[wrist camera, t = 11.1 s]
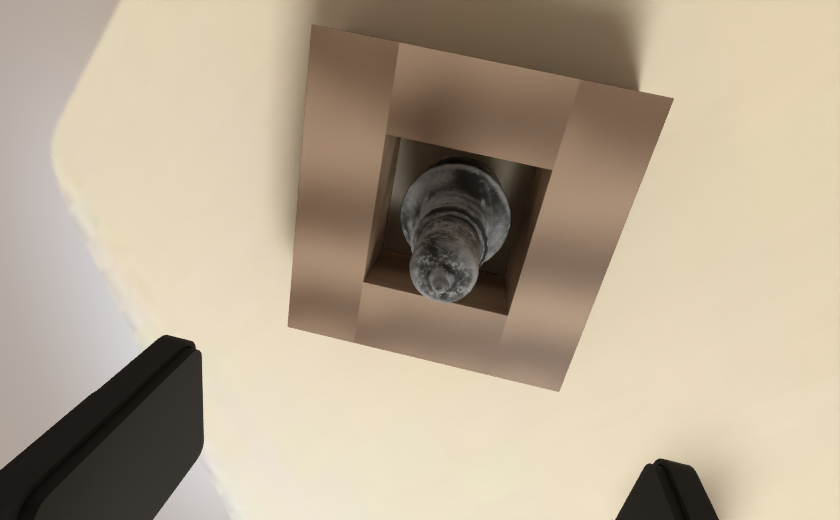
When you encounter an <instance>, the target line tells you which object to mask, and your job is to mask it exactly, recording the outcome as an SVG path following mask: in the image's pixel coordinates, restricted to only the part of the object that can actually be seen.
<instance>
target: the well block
mask: <svg viewBox="0 0 840 520" xmlns="http://www.w3.org/2000/svg"><path fill="white" fill-rule="evenodd" d="M673 100H674V98H669V97H664V96H659V95H655V94H650V93H645V92H640V91H635V90H630V89H625V88H620V87H615V86H611V85H606V84H601V83H596V82H591V81H586V80H581V79H576V78H571V77H567V76H562V75H557V74H552V73H547V72H542V71H537V70H532V69H527V68H523V67H518V66H513V65H508V64H503V63H498V62H493V61H488V60H483V59H479V58H474V57H469V56H464V55H459V54H454V53H449V52H444V51H439V50H435V49H430V48H425V47H420V46H415V45H410V44H405V43H400V42H395V41H391V40H386V39H381V38H376V37H371V36H366V35H361V34H356V33H351V32H347V31H342V30H337V29H332V28H327V27H322V26H317V25H312V29H311V41H310V54H309V66H308V79H307V91H306V104H305V116H304V129H303V141H302V154H301V166H300V179H299V191H298V204H297V216H296V229H295V241H294V254H293V266H292V279H291V291H290V304H289V316H288V327H291V328H295V329H299V330H303V331H307V332H312V333H316V334H320V335H324V336H328V337H332V338H337V339H341V340H345V341H349V342H353V343H357V344H362V345H366V346H370V347H374V348H378V349H382V350H387V351H391V352H395V353H399V354H403V355H407V356H412V357H416V358H420V359H424V360H428V361H432V362H437V363H441V364H445V365H449V366H453V367H457V368H462V369H466V370H470V371H474V372H478V373H482V374H487V375H491V376H495V377H499V378H503V379H507V380H512V381H516V382H520V383H524V384H528V385H532V386H537V387H541V388H545V389H549V390H553V391H557V392H559V391H560V388H561V386H562V383H563V380H564V378H565V375H566V373H567V370H568V368H569V365H570V363H571V360H572V358H573V355H574V352H575V350H576V347H577V345H578V342H579V340H580V337H581V335H582V332H583V329H584V327H585V324H586V322H587V319H588V317H589V314H590V312H591V309H592V307H593V304H594V301H595V299H596V296H597V294H598V291H599V289H600V286H601V284H602V281H603V278H604V276H605V273H606V271H607V268H608V266H609V263H610V261H611V258H612V256H613V253H614V250H615V248H616V245H617V243H618V240H619V238H620V235H621V233H622V230H623V227H624V225H625V222H626V220H627V217H628V215H629V212H630V210H631V207H632V205H633V202H634V199H635V197H636V194H637V192H638V189H639V187H640V184H641V182H642V179H643V177H644V174H645V171H646V169H647V166H648V164H649V161H650V159H651V156H652V154H653V151H654V148H655V146H656V143H657V141H658V138H659V136H660V133H661V131H662V128H663V126H664V123H665V120H666V118H667V115H668V113H669V110H670V108H671V105H672V103H673ZM401 138H406V139H410V140H415V141H420V142H424V143H429V144H434V145H438V146H443V147H448V148H452V149H457V150H461V151H466V152H471V153H475V154H480V155H485V156H489V157H494V158H499V159H503V160H508V161H513V162H517V163H522V164H526V165H531V166H536V167H537V169H536V173H535V176H534V179H533V183H532V186H531V190H530V193H529V196H528V200H527V203H526V207H525V210H524V214H523V217H522V220H521V224H520V227H519V231H518V234H517V237H516V241H515V244H514V248H513V251H512V254H511V258H510V261H509V265H508V268H507V272H506V275H505V277H504V276H500V275H496V274H491V273H487V272H483V271H479V273H478V277H477V281H476V283H475V285H474V286H473V288H472V290H471V291H470V292H469V293H468V294H467V295H466V296H465V297H463V298H461V299H459V300H457V301H454V302H450V303H440V302H436V301H432V300H430V299H428V298H426V297H425V296H423V295H422V294H421V293H420V292H419V291H418V290H417V289H416V287H415V286H414V284H413V282H412V279H411V276H410V260H411V256H412V255H408V254H404V253H399V252H395V251H391V250H386V249H383V243H384V237H385V231H386V225H387V219H388V213H389V207H390V201H391V194H392V188H393V182H394V176H395V170H396V164H397V158H398V152H399V146H400V140H401Z"/></svg>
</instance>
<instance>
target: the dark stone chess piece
mask: <svg viewBox="0 0 840 520" xmlns="http://www.w3.org/2000/svg"><path fill="white" fill-rule="evenodd" d="M510 214H511V211H510V207H509V203H508V200H507V197H506V195H505V193H504V191H503V190H502V188H501V186H500V183H499V181H498V180H497V178H496V176H495V175H494V173H493V172H492V171H491V170H490V169H489V168H488V167H487V166H485V165H484V164H482V163H480V162H478V161H476V160H474V159H470V158H465V157H451V158H448V159H445V160H441V161H439V162H438V163H436V164H434V165H433V166H431V167H430V168H429V169H428V170H427V171H426V172H425V173H423V174H422V175H420V176H419V177H418V178H417V179H416V180H415V181H414V182H413V183H412V184H411V185H410V187H409V188H408V190H407V192H406V194H405V196H404V198H403V201H402V206H401V211H400V217H401V227H402V230H403V233H404V236H405V239H406V241H407V242H408V243H409V245H410V246H411V251H412V256H411V260H410V276H411V279H412V282H413V284H414V286H415V287H416V289H417V290H418V291H419V292H420V293H421V294H422V295H423V296H425V297H426V298H428V299H430V300H432V301H436V302H440V303H450V302H454V301H457V300H459V299H461V298H463V297H465V296H466V295H467V294H468V293H469V292H470V291H471V290H472V288H473V286H474V285H475V283H476V281H477V277H478V273H479V268H480V267H481V266H482V264H483V262H485V261H487V260H489V259H490V258H491V257H492V256H493V255H494V254H495V253H496V252H498V251H499V249H500V248H501V246H502V245H503V243H504V241H505V240H506V238H507V234H508V231H509V228H510Z"/></svg>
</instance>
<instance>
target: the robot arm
mask: <svg viewBox="0 0 840 520" xmlns="http://www.w3.org/2000/svg"><path fill="white" fill-rule="evenodd" d="M203 444H204V429H203V388H202V355H201V352H200V351H199V350H196V347H195V344H194V342H192V341H189V340H185V339H181V338H177V337H173V336H169V335H164V336H162V337H160V338H159V339H157V340H156V341H155V342H154V343H153V344H151V345H150V346H149V347H148V348H147V349H146V350H144V351H143V352H142V353H141V354H140V355H138V356H137V357H136V358H135V359H134V360H133V361H131V362H130V363H129V364H128V365H127V366H125V367H124V368H123V369H122V370H121V371H120V372H118V373H117V374H116V375H115V376H114V377H112V378H111V379H110V380H109V381H108V382H107V383H105V384H104V385H103V386H102V387H101V388H100V389H98V390H97V391H95V392H94V393H92V394H91V395H89V396H88V397H87V398H86V399H85V400H83V401H82V402H81V403H80V404H79V405H78V406H76V407H75V408H74V409H73V410H72V411H70V412H69V413H68V414H67V415H65V416H64V417H63V418H62V419H61V420H60V421H58V422H57V423H56V424H55V425H54V426H52V427H51V428H50V429H49V430H48V431H46V432H45V433H44V434H43V435H42V436H41V437H39V438H38V439H37V440H36V441H35V442H33V443H32V444H31V445H30V446H29V447H27V448H26V449H25V450H24V451H23V452H21V453H20V454H19V455H18V456H17V457H16V458H14V459H13V460H12V461H11V462H10V463H8V464H7V465H6V466H5V467H4V468H3V469H1V470H0V520H153V519H154V517H155V516H156V515H157V513H158V512H159V511H160V509H161V508H162V507H163V505H164V503H165V502H166V501H167V500H168V498H169V497H170V496H171V494H172V493H173V492H174V490H175V489H176V488H177V486H178V485H179V483H180V482H181V481H182V479H183V478H184V477H185V475H186V474H187V472H188V471H189V470H190V468H191V467H192V465H193V464H194V463H195V462H196V460H197V459H198V457H199V455H200V453H201V451H202V448H203ZM615 520H719V519H718V517H717V515H716V513H715V510H714V508H713V506H712V504H711V502H710V500H709V498H708V496H707V494H706V492H705V490H704V487H703V485H702V483H701V481H700V479H699V477H698V475H697V473H696V471H695V470H694V468H692V467H691V466H689V465H685V464H681V463H677V462H673V461H669V460H665V459H658V460H656V461H655V462H654V464H647V465H646V466H645V467H644V469H643V471H642V472H641V474H640V476H639V478H638V480H637V481H636V483H635V485H634V487H633V489H632V490H631V492H630V494H629V496H628V498H627V499H626V501H625V503H624V505H623V507H622V508H621V510H620V512H619V514H618V516H617V518H616V519H615Z"/></svg>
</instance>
